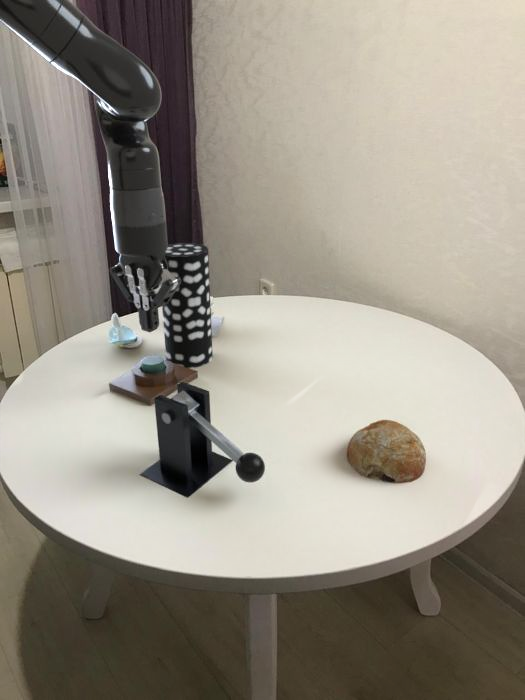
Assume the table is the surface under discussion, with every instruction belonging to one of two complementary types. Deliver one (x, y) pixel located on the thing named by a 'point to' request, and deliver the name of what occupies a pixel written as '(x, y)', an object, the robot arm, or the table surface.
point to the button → (152, 364)
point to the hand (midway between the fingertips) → (149, 329)
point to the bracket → (183, 445)
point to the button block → (152, 382)
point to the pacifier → (122, 334)
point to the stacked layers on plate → (215, 321)
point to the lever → (224, 442)
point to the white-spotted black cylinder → (188, 307)
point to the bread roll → (387, 452)
